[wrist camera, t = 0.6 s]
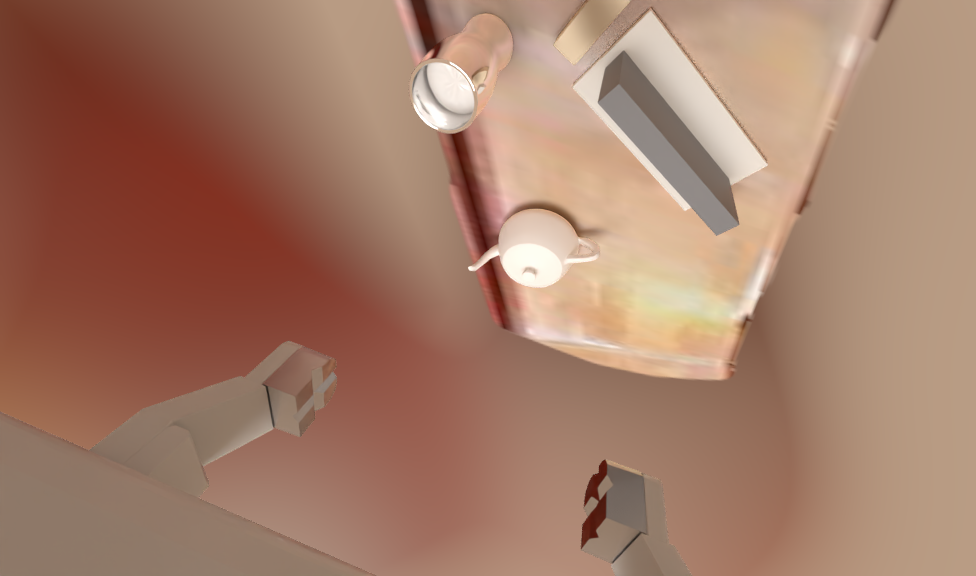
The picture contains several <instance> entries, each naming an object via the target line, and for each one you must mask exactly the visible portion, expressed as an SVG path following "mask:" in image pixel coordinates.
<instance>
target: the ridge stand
mask: <svg viewBox="0 0 976 576" xmlns="http://www.w3.org/2000/svg"><path fill="white" fill-rule="evenodd" d="M573 89H574V90H575V91H576V92H577V93H578V94H579V95H580V96H581V97H582V98H583V100H584V101H585V102H586V103H587V104H588V105H589V106H590V107H591V108H592V109H593V110H594V112H595V113H596V114H597V115H598V116H599V117H600V118H601V119H602V120H603V121H604V123H605V124H606V125H607V126H608V127H609V128H610V129H611V130H612V131H613V132H614V134H615V135H616V136H617V137H618V138H619V139H620V140H621V141H622V142H623V143H624V145H625V146H626V147H627V148H628V149H629V150H630V151H631V152H632V153H633V154H634V156H635V157H636V158H637V159H638V160H639V161H640V162H641V163H642V164H643V165H644V167H645V168H646V169H647V170H648V171H649V172H650V173H651V174H652V175H653V176H654V178H655V179H656V180H657V181H658V182H659V183H660V184H661V185H662V186H663V187H664V189H665V190H666V191H667V192H668V193H669V194H670V195H671V196H672V197H673V198H674V200H675V201H676V202H677V203H678V204H679V205H680V206H681V207H682V208H683V209H684V211H686V210H688V209H689V208H692V209H693V210H694V211H695V212H696V213H697V214H698V216H699V217H700V218H701V219H702V220H703V221H704V222H705V223H706V224H707V226H708V227H709V228H710V229H711V230H712V231H713V232H714V233H715V234H716V236H717V235H719V234H721V233H723V232H725V231H727V230H730V229H732V228H734V227H736V226H738V225H739V221H738V216H737V212H736V207H735V203H734V198H733V194H732V190H731V185H733V184H735V183H737V182H738V181H740V180H742V179H744V178H746V177H748V176H749V175H751V174H753V173H755V172H757V171H758V170H760V169H762V168H764V167H766V166H768V164H767V161H766V160H765V158H764V157H763V156H762V154H761V153H760V152H759V150H758V149H757V148H756V146H755V145H754V144H753V142H752V141H751V140H750V138H749V137H748V136H747V134H746V133H745V132H744V131H743V129H742V128H741V127H740V125H739V124H738V123H737V121H736V120H735V119H734V117H733V116H732V115H731V113H730V112H729V111H728V109H727V108H726V107H725V105H724V104H723V103H722V101H721V100H720V99H719V97H718V96H717V95H716V93H715V92H714V91H713V89H712V88H711V87H710V85H709V84H708V83H707V81H706V80H705V79H704V77H703V76H702V75H701V73H700V72H699V71H698V69H697V68H696V67H695V65H694V64H693V63H692V61H691V60H690V59H689V57H688V56H687V55H686V54H685V52H684V51H683V50H682V48H681V47H680V46H679V44H678V43H677V42H676V40H675V39H674V38H673V36H672V35H671V34H670V32H669V31H668V30H667V28H666V27H665V26H664V24H663V23H662V22H661V20H660V19H659V18H658V16H657V15H656V14H655V12H654V11H653V10H652V8H650V9H649V10H648V11H647V12H646V13H645V14H644V15H643V16H642V17H641V18H640V19H639V20H638V21H637V22H636V23H635V24H634V25H632V26H631V27H630V28H629V29H628V30H627V31H626V32H625V33H624V34H623V35H622V36H621V37H620V38H619V39H618V40H617V41H616V42H615V43H614V44H613V45H612V46H611V47H610V48H609V49H608V50H607V51H606V52H605V53H604V54H603V55H602V56H601V57H600V58H599V59H598V60H597V61H596V62H595V63H594V64H593V65H592V66H591V67H590V68H589V69H588V70H587V71H586V72H585V73H584V74H583V75H582V76H581V77H580V78H579V79H578V80H577V81H576V82H575V83H574V84H573Z"/></svg>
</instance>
